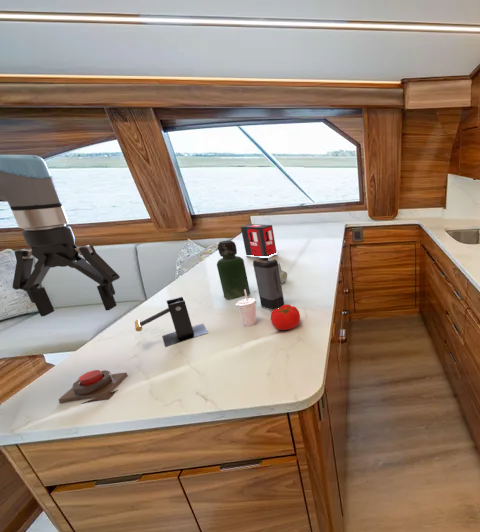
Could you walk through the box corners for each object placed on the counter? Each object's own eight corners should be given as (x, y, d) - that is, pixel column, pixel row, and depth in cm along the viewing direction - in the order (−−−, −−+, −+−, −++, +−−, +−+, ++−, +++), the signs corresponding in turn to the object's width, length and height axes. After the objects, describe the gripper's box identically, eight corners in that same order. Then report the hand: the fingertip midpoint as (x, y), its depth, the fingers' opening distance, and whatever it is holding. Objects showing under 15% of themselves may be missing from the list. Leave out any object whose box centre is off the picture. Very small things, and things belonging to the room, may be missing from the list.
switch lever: (138, 333, 90) (133, 327, 89) (137, 326, 95) (132, 320, 93) (185, 309, 97) (180, 303, 96) (182, 303, 101) (178, 297, 100)
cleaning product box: (276, 255, 196) (272, 225, 189) (267, 259, 188) (261, 227, 181) (256, 253, 201) (251, 224, 194) (246, 257, 193) (240, 226, 186)
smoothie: (264, 323, 110) (257, 288, 105) (249, 331, 104) (241, 295, 100) (252, 319, 112) (245, 285, 108) (237, 327, 107) (229, 292, 102)
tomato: (276, 335, 101) (273, 318, 99) (269, 322, 110) (266, 306, 108) (304, 327, 106) (302, 310, 104) (296, 315, 115) (294, 300, 113)
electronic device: (286, 305, 123) (279, 259, 117) (274, 311, 119) (265, 264, 112) (271, 301, 128) (264, 256, 122) (259, 306, 123) (250, 260, 117)
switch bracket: (166, 350, 95) (153, 311, 90) (163, 338, 101) (151, 302, 97) (209, 335, 102) (199, 299, 98) (203, 326, 109) (194, 291, 104)
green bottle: (222, 295, 135) (209, 242, 127) (246, 289, 142) (235, 237, 134) (227, 302, 128) (214, 246, 120) (253, 295, 134) (242, 241, 126)
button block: (61, 406, 73) (54, 393, 71) (86, 384, 80) (81, 372, 79) (108, 399, 75) (103, 386, 73) (129, 378, 82) (124, 366, 81)
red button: (76, 387, 74) (74, 381, 73) (89, 376, 78) (86, 371, 77) (95, 384, 75) (93, 378, 74) (106, 374, 79) (104, 368, 78)
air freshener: (273, 278, 154) (270, 260, 151) (289, 278, 154) (286, 260, 150) (263, 286, 144) (260, 267, 140) (280, 286, 143) (277, 267, 140)
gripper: (120, 221, 73) (145, 299, 80) (-4, 227, 69) (34, 309, 76) (96, 227, 66) (127, 312, 73) (-42, 233, 62) (4, 323, 69)
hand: (80, 311), depth 74 cm, fingers open, 13 cm apart
